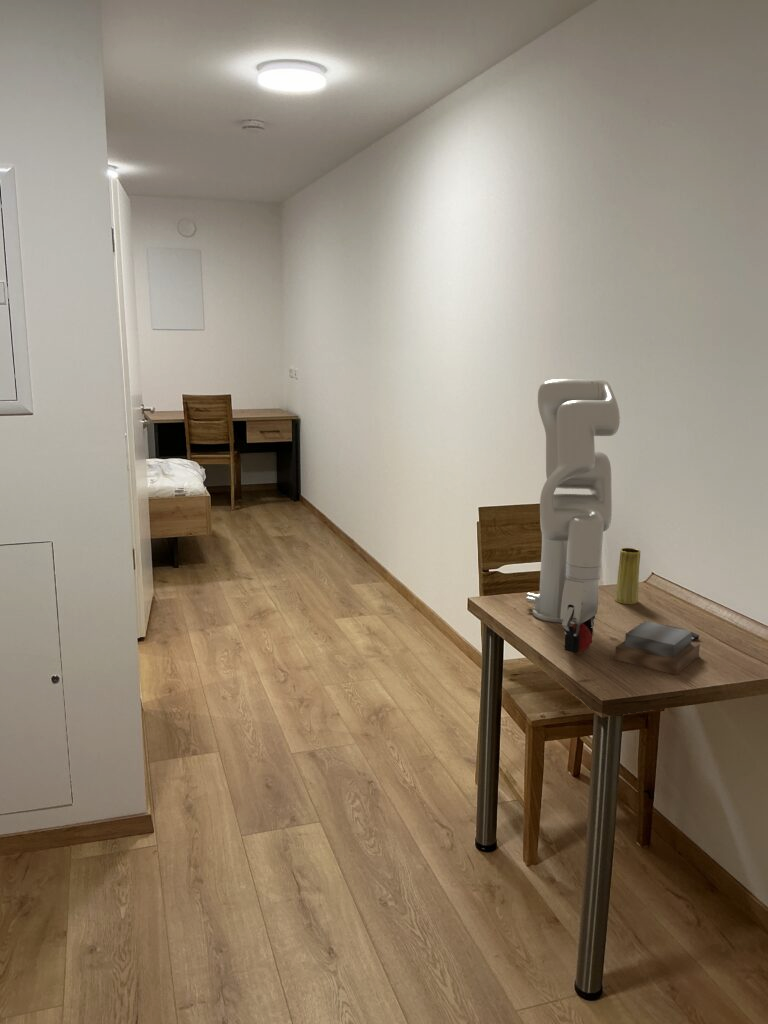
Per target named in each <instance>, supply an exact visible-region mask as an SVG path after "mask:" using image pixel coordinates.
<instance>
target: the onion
mask: <svg viewBox="0 0 768 1024" xmlns="http://www.w3.org/2000/svg"><path fill="white" fill-rule="evenodd" d="M571 626H572V627H573V628H574V630H575V626H576V625H574V624H571ZM578 636H580V637H579V652H578V653H576V654H577V655H578V654H581V653H583V652H585V651H587V650H588V649H589V648H590V646H591V645H592V644H591V642H592V643H593V636H592V634H591V632H590V630H589V629H588V627H587V626H585V625H584V624H583V623H581V624H580V628H579V632H578Z"/></svg>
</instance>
